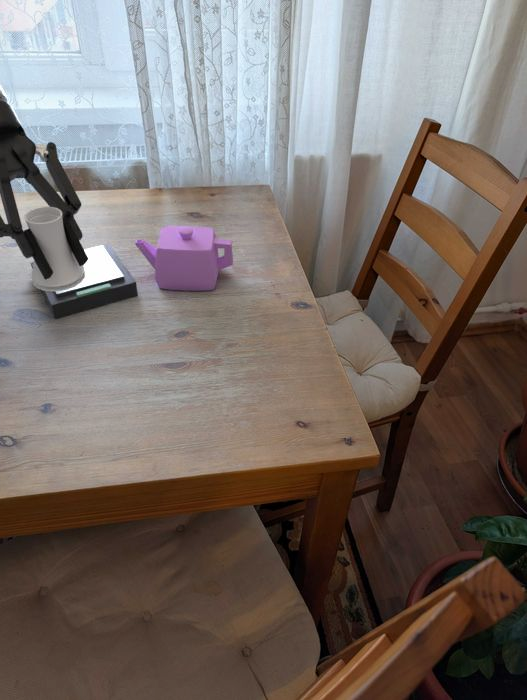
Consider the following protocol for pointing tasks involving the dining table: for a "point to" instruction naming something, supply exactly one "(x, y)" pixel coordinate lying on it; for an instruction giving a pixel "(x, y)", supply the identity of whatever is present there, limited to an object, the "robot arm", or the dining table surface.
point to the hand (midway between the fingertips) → (66, 269)
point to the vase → (53, 250)
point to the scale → (94, 284)
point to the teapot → (187, 257)
